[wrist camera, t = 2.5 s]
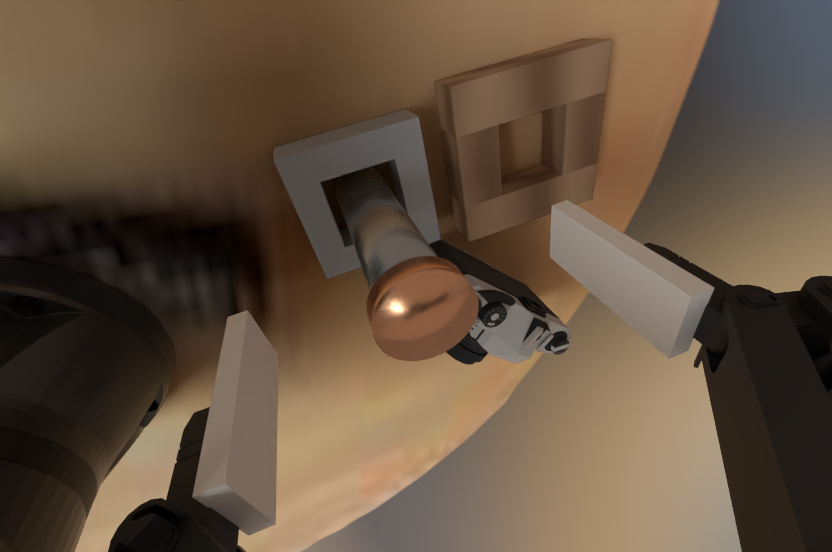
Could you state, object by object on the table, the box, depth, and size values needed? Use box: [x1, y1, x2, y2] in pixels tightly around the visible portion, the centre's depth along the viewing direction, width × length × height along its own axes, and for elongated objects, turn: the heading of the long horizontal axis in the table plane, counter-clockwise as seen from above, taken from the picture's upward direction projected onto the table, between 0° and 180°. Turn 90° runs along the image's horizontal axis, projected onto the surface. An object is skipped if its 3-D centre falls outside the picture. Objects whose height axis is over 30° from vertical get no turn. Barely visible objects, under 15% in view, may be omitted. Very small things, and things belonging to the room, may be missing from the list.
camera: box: [429, 239, 571, 365], centre depth 28 cm, size 13×8×9 cm, turn 57°
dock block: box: [434, 39, 612, 242], centre depth 24 cm, size 10×10×2 cm
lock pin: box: [336, 167, 479, 361], centre depth 18 cm, size 4×4×13 cm
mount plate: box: [273, 109, 441, 279], centre depth 22 cm, size 8×8×2 cm
